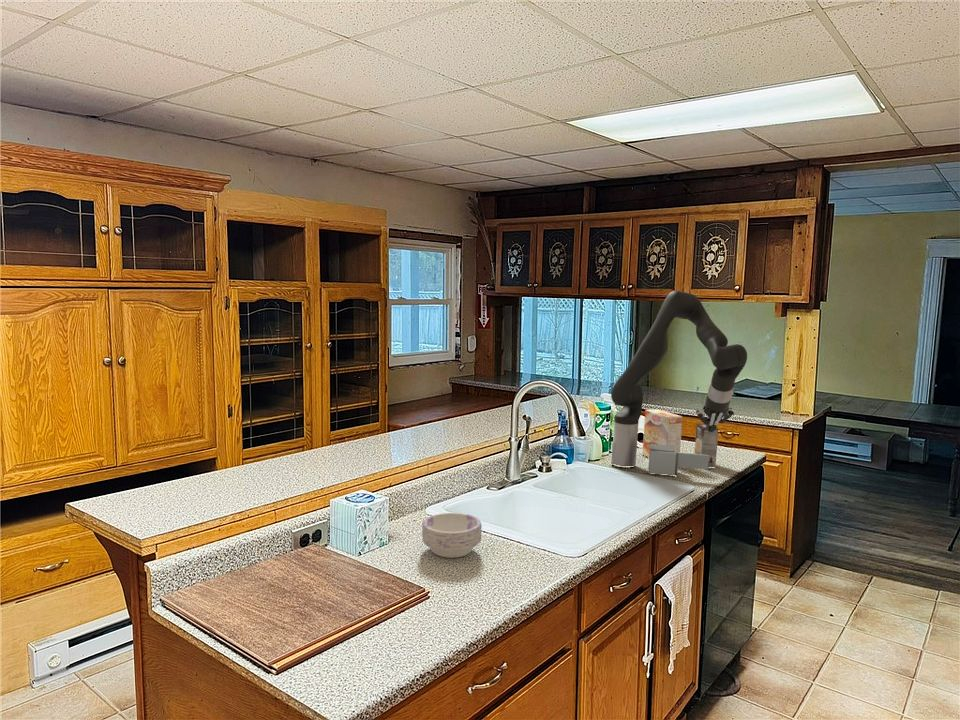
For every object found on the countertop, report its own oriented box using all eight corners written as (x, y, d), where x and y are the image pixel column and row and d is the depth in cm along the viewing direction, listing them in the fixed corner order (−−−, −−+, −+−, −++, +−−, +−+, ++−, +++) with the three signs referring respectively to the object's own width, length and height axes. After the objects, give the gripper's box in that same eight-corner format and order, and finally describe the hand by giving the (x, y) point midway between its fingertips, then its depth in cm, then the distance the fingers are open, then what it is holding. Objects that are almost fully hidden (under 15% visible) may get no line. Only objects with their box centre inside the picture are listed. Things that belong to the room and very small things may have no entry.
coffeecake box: (641, 455, 277) (644, 409, 275) (655, 454, 280) (658, 408, 278) (665, 465, 264) (669, 416, 261) (679, 463, 267) (683, 415, 264)
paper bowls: (414, 543, 177) (415, 514, 176) (468, 537, 182) (469, 509, 181) (431, 566, 163) (432, 535, 162) (489, 559, 168) (490, 529, 167)
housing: (648, 474, 250) (649, 449, 249) (648, 467, 259) (650, 443, 258) (673, 476, 248) (675, 451, 247) (672, 470, 257) (674, 446, 256)
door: (648, 474, 249) (650, 450, 248) (648, 473, 250) (650, 449, 249) (706, 480, 244) (708, 455, 243) (706, 479, 245) (708, 455, 244)
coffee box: (693, 461, 270) (695, 423, 268) (708, 462, 270) (711, 423, 268) (699, 468, 261) (702, 428, 259) (716, 468, 261) (719, 428, 259)
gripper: (735, 385, 223) (725, 421, 235) (696, 388, 223) (688, 424, 234) (743, 400, 217) (733, 436, 229) (703, 404, 217) (694, 440, 229)
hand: (710, 430), depth 232 cm, fingers closed
